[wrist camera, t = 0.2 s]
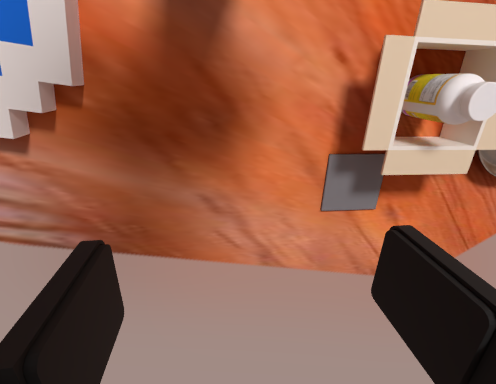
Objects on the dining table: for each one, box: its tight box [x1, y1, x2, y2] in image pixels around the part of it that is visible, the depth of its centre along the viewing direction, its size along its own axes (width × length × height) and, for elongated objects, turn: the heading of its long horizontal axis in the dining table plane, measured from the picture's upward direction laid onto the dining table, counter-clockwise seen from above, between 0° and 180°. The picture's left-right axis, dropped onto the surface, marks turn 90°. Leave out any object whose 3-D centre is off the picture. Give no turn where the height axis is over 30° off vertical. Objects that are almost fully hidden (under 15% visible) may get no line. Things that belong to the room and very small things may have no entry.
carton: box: [362, 0, 496, 175], centre depth 42 cm, size 23×23×7 cm
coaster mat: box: [321, 154, 385, 211], centre depth 50 cm, size 11×11×1 cm
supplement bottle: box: [401, 73, 496, 125], centre depth 39 cm, size 7×7×13 cm
